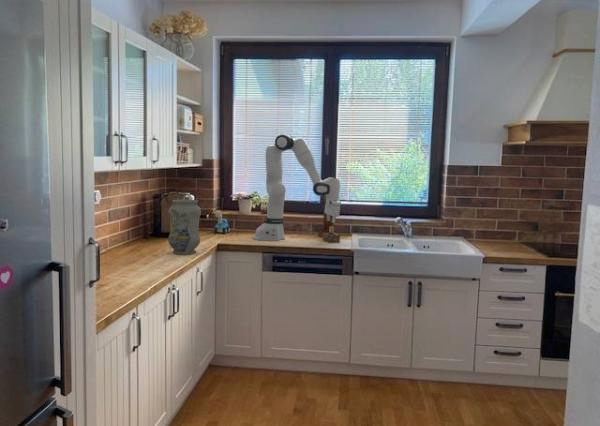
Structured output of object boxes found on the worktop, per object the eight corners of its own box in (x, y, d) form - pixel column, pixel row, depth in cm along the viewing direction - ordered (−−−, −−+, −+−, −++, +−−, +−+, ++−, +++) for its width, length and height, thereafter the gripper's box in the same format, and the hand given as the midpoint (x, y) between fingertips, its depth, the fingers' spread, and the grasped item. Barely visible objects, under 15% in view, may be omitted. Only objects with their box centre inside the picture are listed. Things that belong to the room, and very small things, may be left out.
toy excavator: (210, 234, 350) (210, 210, 348) (219, 231, 366) (219, 208, 364) (222, 235, 348) (222, 211, 346) (230, 232, 364) (230, 208, 362)
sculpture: (316, 235, 360) (318, 194, 357) (327, 235, 364) (329, 194, 361) (324, 238, 348) (326, 195, 345) (336, 237, 352) (337, 195, 349)
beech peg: (329, 241, 335) (330, 226, 334) (328, 240, 338) (328, 226, 337) (334, 241, 336) (334, 226, 335) (332, 240, 339) (333, 226, 338)
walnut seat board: (327, 242, 331) (327, 235, 331) (322, 240, 341) (322, 232, 340) (339, 242, 334) (340, 235, 333) (334, 239, 343) (335, 232, 343)
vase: (174, 249, 291) (174, 198, 288) (204, 250, 289) (205, 199, 286) (163, 254, 273) (163, 200, 270) (195, 256, 271) (195, 201, 268)
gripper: (323, 199, 344) (321, 219, 345) (332, 202, 324) (331, 223, 325) (331, 200, 345) (330, 219, 347) (341, 203, 326) (340, 223, 327)
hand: (331, 221), depth 336 cm, fingers open, 8 cm apart
